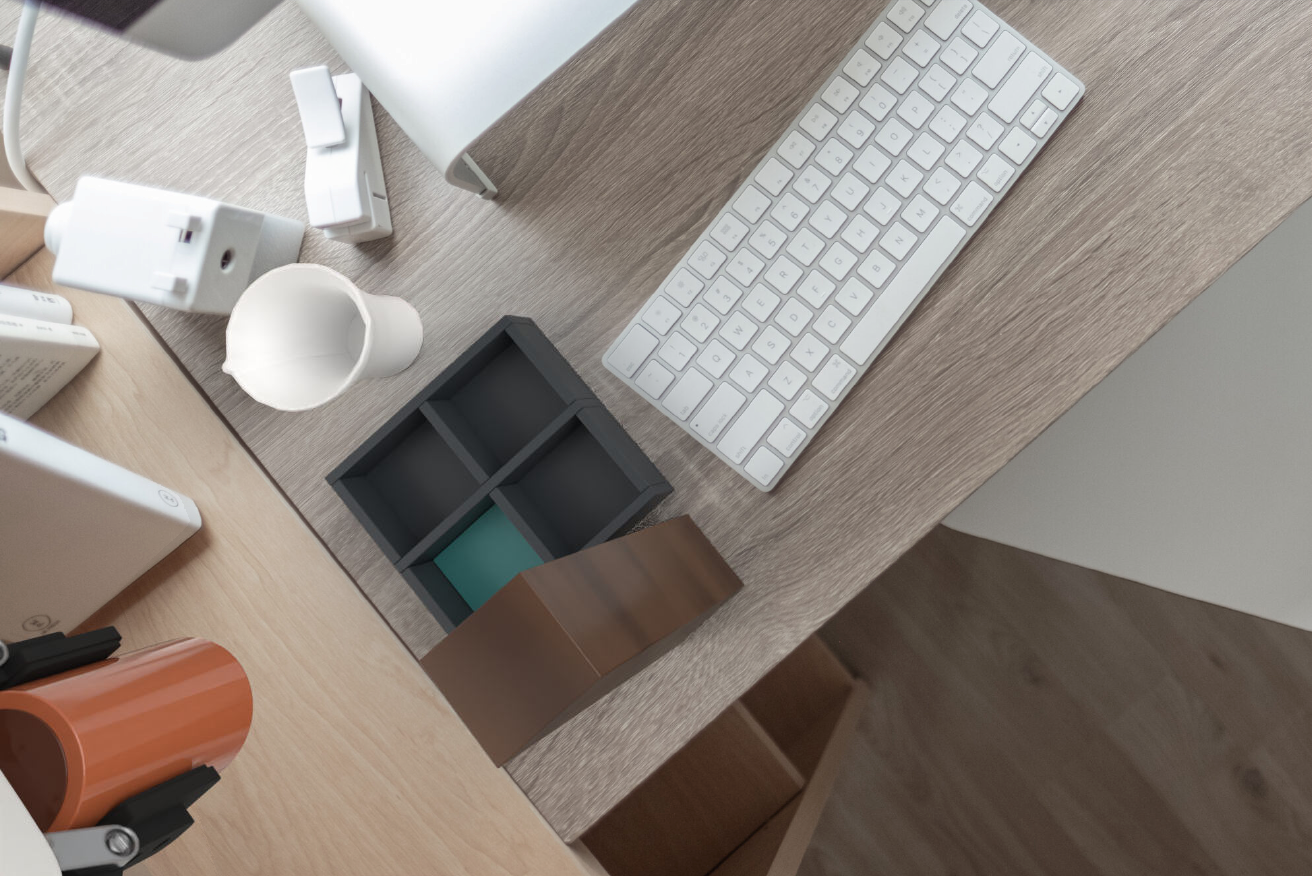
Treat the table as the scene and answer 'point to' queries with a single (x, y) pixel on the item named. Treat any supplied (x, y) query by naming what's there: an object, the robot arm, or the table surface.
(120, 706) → the tumbler
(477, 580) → the divided tray
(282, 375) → the cup
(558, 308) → the table surface
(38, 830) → the robot arm
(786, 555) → the table surface
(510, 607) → the brown wooden block
